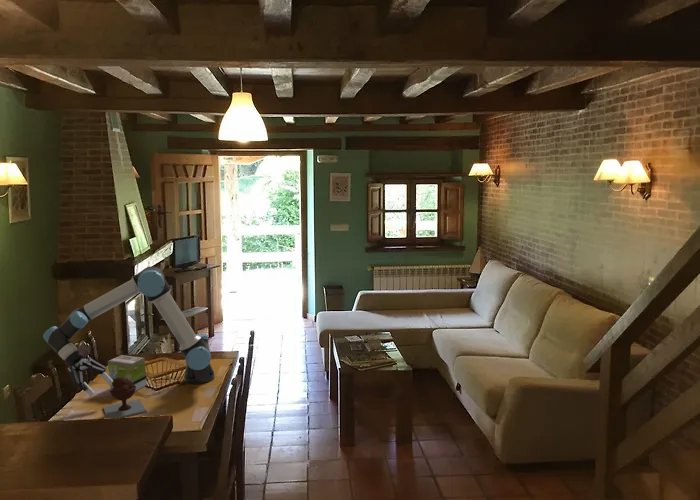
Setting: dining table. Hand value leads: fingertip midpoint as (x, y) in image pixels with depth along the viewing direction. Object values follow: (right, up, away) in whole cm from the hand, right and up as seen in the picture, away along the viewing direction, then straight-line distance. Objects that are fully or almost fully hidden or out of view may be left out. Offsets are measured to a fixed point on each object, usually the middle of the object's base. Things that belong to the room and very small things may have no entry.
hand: (102, 389), depth 279 cm
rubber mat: (+10, -9, -2) cm, 14 cm away
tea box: (+2, -6, +28) cm, 28 cm away
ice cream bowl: (+10, -9, -1) cm, 14 cm away
